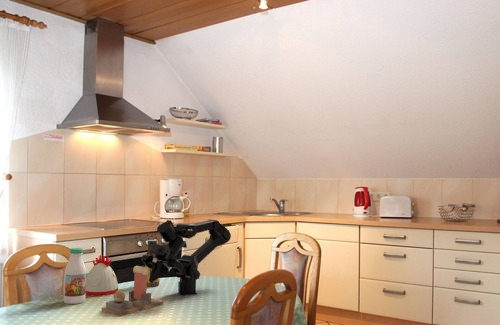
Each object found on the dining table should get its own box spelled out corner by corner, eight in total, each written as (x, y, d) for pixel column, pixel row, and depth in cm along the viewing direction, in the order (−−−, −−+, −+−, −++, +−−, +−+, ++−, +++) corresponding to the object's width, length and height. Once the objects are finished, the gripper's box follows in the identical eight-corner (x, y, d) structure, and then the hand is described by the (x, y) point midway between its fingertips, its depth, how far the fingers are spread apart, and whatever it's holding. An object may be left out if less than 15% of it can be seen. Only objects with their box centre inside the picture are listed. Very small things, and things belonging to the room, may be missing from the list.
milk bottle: (58, 302, 174) (61, 248, 174) (75, 298, 180) (77, 246, 181) (73, 305, 170) (75, 250, 171) (89, 301, 177) (91, 248, 178)
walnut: (120, 299, 167) (120, 288, 167) (127, 301, 165) (127, 290, 165) (110, 302, 164) (111, 290, 164) (118, 304, 161) (118, 292, 162)
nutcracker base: (144, 300, 180) (145, 287, 181) (162, 304, 175) (163, 291, 175) (101, 311, 164) (102, 296, 164) (120, 316, 158) (120, 301, 159)
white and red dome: (107, 297, 184) (108, 259, 184) (75, 294, 186) (77, 256, 187) (123, 289, 197) (125, 253, 198) (94, 287, 200) (95, 252, 201)
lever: (137, 298, 175) (139, 265, 175) (147, 300, 172) (148, 267, 172) (132, 299, 172) (133, 266, 173) (141, 302, 169) (142, 268, 170)
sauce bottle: (161, 284, 209) (162, 239, 209) (157, 287, 202) (158, 241, 203) (146, 283, 209) (148, 239, 210) (142, 286, 203) (144, 240, 204)
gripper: (145, 234, 187) (122, 265, 177) (179, 238, 176) (157, 271, 166) (159, 251, 193) (137, 282, 183) (192, 256, 182) (171, 290, 172)
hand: (150, 281), depth 176 cm, fingers closed
